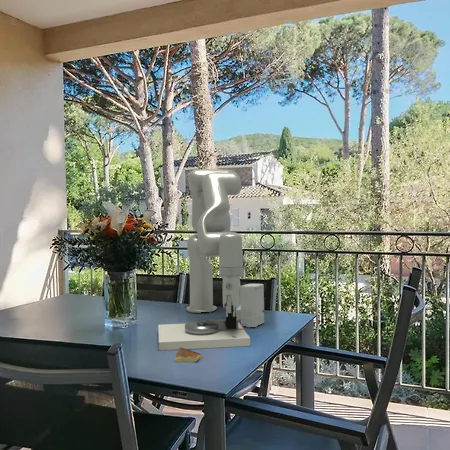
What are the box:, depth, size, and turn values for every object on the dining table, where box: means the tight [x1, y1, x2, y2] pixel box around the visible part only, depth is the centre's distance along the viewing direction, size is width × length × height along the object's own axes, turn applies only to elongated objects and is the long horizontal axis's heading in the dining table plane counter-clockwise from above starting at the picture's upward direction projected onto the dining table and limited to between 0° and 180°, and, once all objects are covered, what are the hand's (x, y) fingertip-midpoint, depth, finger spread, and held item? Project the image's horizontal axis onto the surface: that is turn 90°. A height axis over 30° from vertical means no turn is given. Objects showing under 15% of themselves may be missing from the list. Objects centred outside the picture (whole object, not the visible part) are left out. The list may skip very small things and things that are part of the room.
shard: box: [174, 347, 204, 363], centre depth 142 cm, size 11×8×2 cm
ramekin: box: [235, 304, 241, 319], centre depth 189 cm, size 9×9×4 cm
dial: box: [184, 317, 239, 335], centre depth 160 cm, size 18×11×4 cm, turn 97°
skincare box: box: [240, 283, 265, 328], centre depth 178 cm, size 8×6×15 cm
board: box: [157, 321, 251, 351], centre depth 160 cm, size 22×28×3 cm
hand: (231, 328), depth 158 cm, fingers closed
